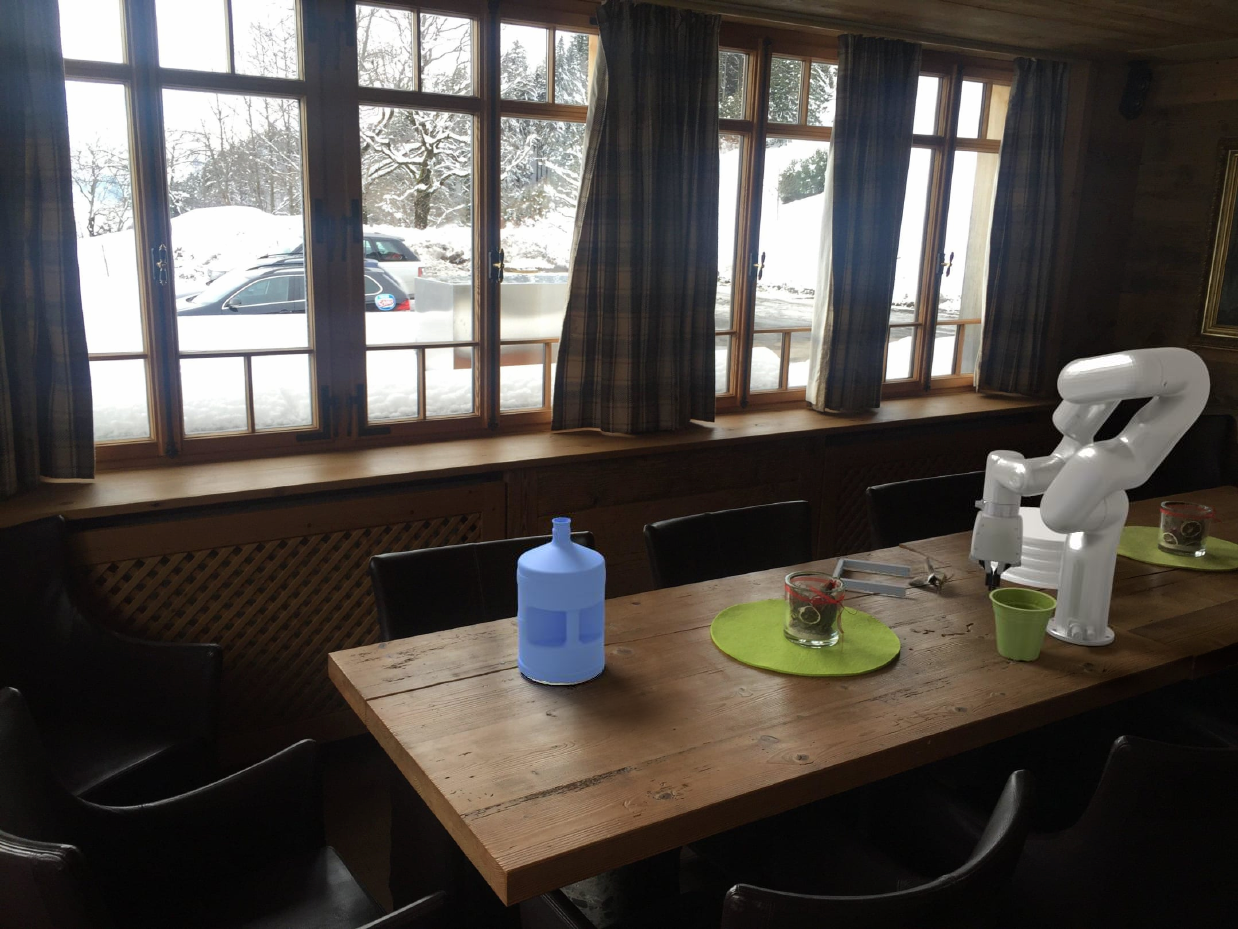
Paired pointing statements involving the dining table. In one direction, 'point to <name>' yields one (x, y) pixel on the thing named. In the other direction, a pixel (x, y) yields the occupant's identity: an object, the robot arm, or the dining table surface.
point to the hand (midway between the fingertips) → (991, 589)
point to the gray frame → (876, 567)
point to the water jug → (561, 610)
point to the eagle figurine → (931, 577)
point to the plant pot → (1021, 621)
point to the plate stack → (1037, 553)
